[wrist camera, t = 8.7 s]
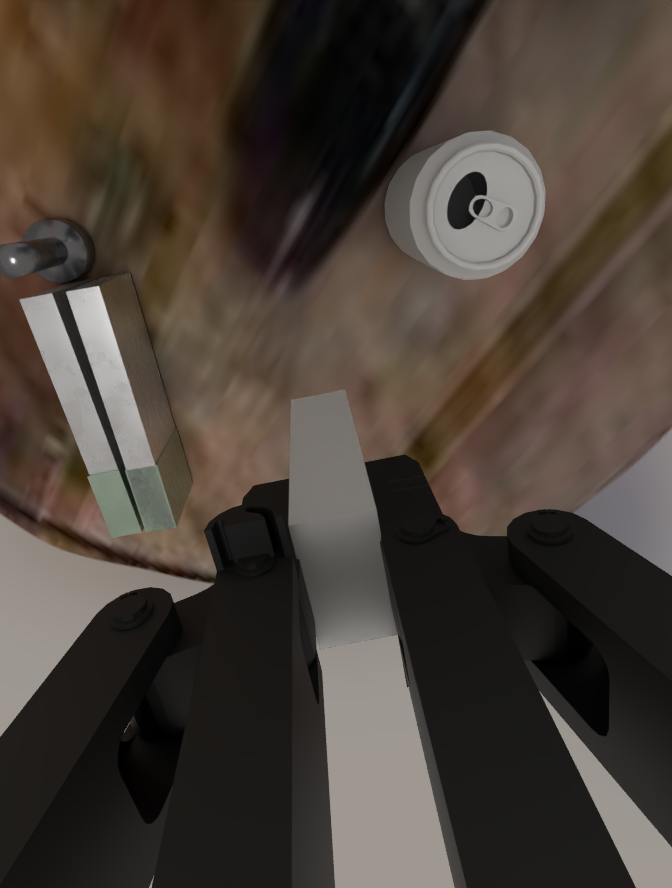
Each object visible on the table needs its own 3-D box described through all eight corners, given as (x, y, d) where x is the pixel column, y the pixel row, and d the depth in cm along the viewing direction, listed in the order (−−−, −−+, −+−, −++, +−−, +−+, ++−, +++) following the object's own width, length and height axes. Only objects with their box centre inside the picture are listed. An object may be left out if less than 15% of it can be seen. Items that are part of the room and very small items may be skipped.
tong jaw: (100, 277, 40) (64, 292, 34) (131, 272, 40) (100, 285, 34) (166, 487, 47) (146, 532, 41) (192, 482, 47) (176, 527, 41)
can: (410, 127, 38) (456, 98, 27) (506, 175, 40) (586, 165, 29) (365, 237, 41) (391, 250, 30) (457, 278, 42) (514, 305, 31)
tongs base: (26, 224, 39) (-42, 230, 31) (83, 213, 39) (30, 216, 31) (126, 493, 47) (93, 550, 40) (173, 483, 47) (150, 539, 40)
